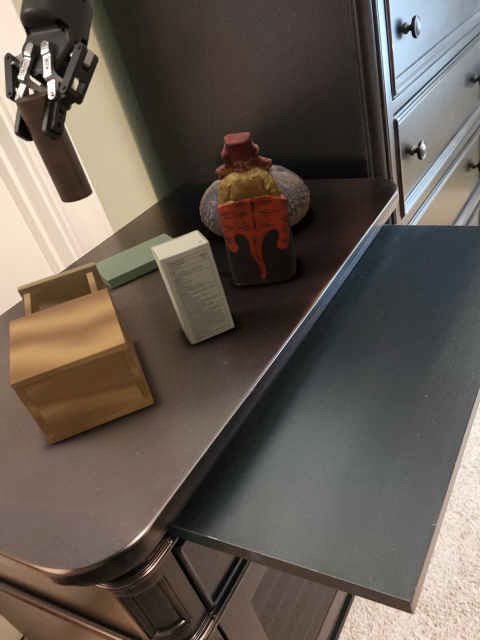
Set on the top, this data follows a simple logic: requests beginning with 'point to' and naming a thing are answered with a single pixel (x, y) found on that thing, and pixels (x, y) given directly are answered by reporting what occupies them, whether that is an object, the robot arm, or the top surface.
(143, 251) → the board
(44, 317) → the cabinet
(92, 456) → the top surface
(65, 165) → the brown wooden cylinder
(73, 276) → the drawer
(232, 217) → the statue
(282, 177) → the sea urchin shell
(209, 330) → the cosmetic box
